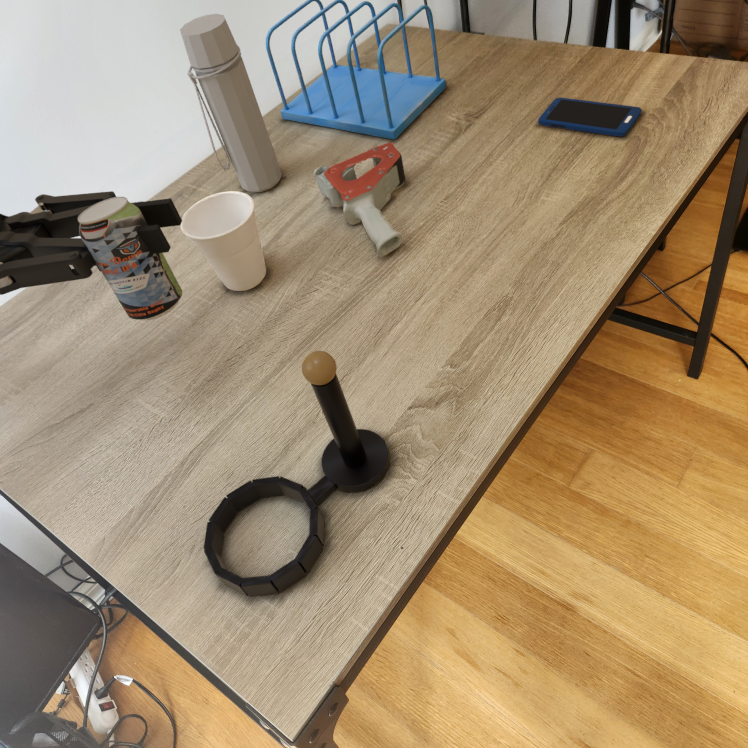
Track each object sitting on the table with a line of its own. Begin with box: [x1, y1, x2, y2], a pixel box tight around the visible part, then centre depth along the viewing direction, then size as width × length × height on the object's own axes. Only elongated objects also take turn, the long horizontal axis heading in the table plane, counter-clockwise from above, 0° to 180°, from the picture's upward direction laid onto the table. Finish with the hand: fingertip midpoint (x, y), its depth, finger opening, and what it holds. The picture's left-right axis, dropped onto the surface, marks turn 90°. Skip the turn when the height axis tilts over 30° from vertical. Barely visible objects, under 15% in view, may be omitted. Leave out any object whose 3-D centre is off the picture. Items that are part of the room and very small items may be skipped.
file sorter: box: [265, 0, 447, 140], centre depth 111 cm, size 25×17×15 cm
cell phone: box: [537, 97, 642, 138], centre depth 100 cm, size 7×14×1 cm, turn 56°
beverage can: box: [78, 196, 183, 322], centre depth 64 cm, size 6×7×12 cm
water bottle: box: [179, 13, 283, 194], centre depth 97 cm, size 9×8×25 cm
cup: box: [180, 190, 267, 292], centre depth 87 cm, size 10×10×11 cm
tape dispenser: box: [313, 142, 406, 257], centre depth 94 cm, size 18×5×20 cm
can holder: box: [203, 350, 391, 598], centre depth 59 cm, size 13×20×17 cm, turn 152°
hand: (169, 225), depth 63 cm, fingers closed on beverage can, 3 cm apart
